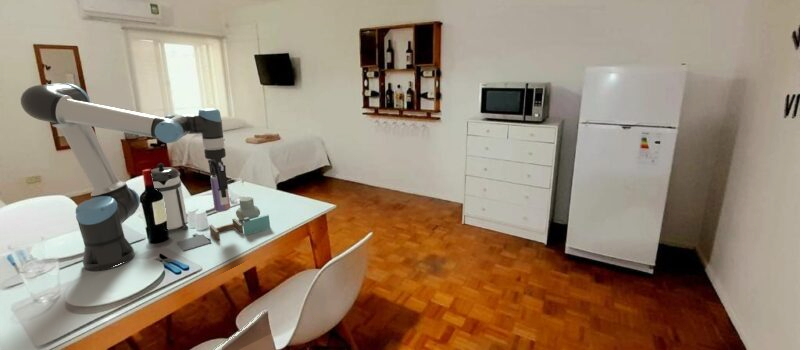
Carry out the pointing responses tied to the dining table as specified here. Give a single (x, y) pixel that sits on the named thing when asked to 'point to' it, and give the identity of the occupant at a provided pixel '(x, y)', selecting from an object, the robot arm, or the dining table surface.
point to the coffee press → (171, 195)
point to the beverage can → (216, 196)
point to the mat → (193, 242)
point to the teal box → (255, 224)
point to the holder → (225, 228)
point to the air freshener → (247, 209)
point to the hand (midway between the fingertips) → (221, 201)
